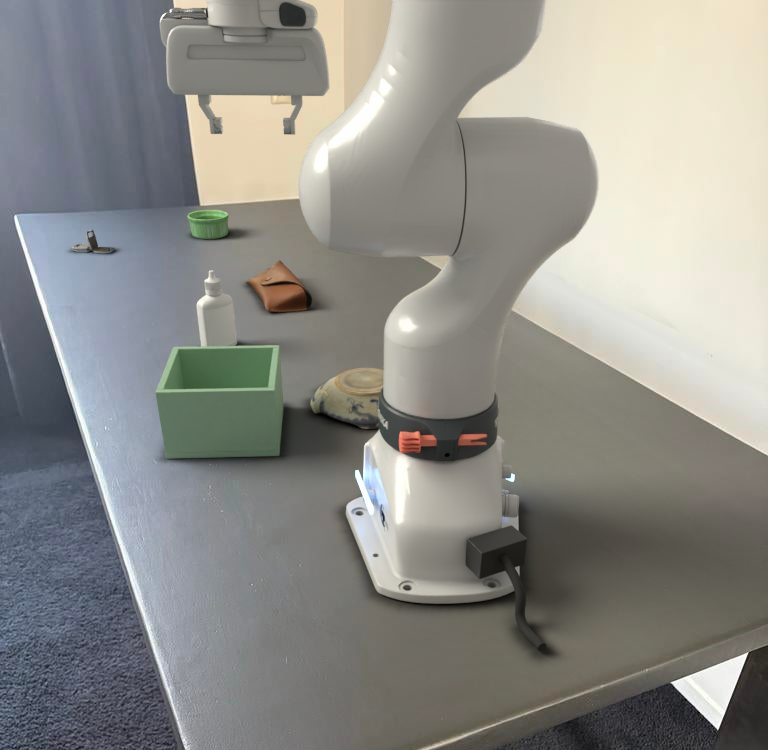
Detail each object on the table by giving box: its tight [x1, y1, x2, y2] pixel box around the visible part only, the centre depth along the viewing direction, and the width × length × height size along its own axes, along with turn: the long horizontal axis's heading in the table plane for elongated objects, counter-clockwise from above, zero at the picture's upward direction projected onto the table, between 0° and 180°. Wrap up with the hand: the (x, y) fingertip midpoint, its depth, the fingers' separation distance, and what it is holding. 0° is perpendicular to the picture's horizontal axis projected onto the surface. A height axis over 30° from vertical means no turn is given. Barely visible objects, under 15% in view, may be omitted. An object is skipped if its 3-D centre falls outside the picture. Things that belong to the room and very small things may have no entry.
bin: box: [154, 344, 284, 460], centre depth 99 cm, size 14×14×9 cm
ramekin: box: [186, 209, 230, 240], centre depth 178 cm, size 9×9×4 cm
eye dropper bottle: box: [196, 269, 238, 346], centre depth 121 cm, size 4×6×12 cm
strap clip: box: [71, 228, 115, 254], centre depth 166 cm, size 8×3×4 cm, turn 81°
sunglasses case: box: [245, 259, 314, 313], centre depth 144 cm, size 18×7×7 cm, turn 22°
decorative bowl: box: [309, 367, 384, 430], centre depth 108 cm, size 15×4×15 cm
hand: (253, 133), depth 104 cm, fingers open, 8 cm apart
